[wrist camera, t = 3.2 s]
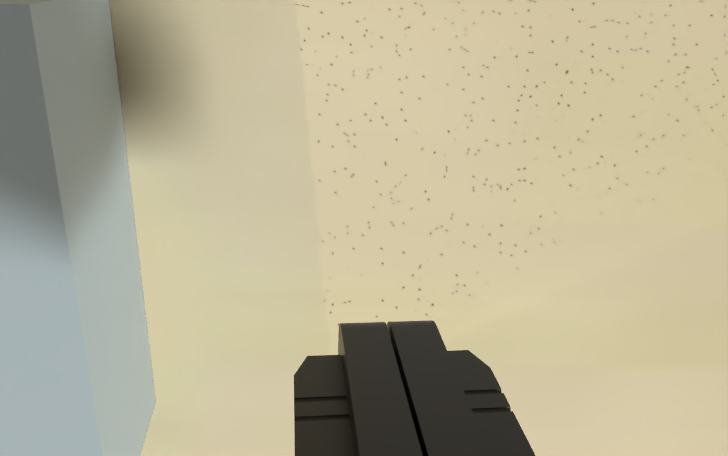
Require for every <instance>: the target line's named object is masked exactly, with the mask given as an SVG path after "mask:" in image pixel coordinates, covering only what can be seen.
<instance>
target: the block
mask: <svg viewBox="0 0 728 456" xmlns="http://www.w3.org/2000/svg"><path fill="white" fill-rule="evenodd" d="M155 403H156V397H155V388H154V380H153V371H152V363H151V354H150V346H149V337H148V329H147V320H146V312H145V303H144V295H143V286H142V278H141V269H140V261H139V252H138V244H137V235H136V227H135V218H134V210H133V201H132V193H131V184H130V176H129V167H128V159H127V150H126V142H125V133H124V125H123V116H122V108H121V99H120V91H119V82H118V74H117V65H116V57H115V48H114V40H113V31H112V23H111V14H110V6H109V0H0V456H140V454H141V451H142V447H143V444H144V440H145V437H146V433H147V430H148V427H149V423H150V420H151V416H152V413H153V409H154V406H155Z"/></svg>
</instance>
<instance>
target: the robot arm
mask: <svg viewBox="0 0 728 456" xmlns="http://www.w3.org/2000/svg"><path fill="white" fill-rule="evenodd" d="M294 415H295V456H535V454H534V452H533V450H532V448H531V446H530V444H529V442H528V440H527V438H526V436H525V435H524V433H523V431H522V429H521V427H520V425H519V423H518V421H517V419H516V417H515V415H514V413H513V411H512V412H511V410H510V405H509V403H508V401H507V399H506V397H505V395H504V394H503V393H501V388H500V386H499V384H498V382H497V380H496V378H495V376H494V374H493V372H492V370H491V368H490V367H489V366H487V365H486V364H485V363H484V362H482V361H481V360H480V359H479V358H477V357H476V356H475V355H474V354H472V353H471V352H470V351H468V350H462V351H447V350H446V347H445V345H444V343H443V340H442V338H441V335H440V333H439V331H438V328H437V326H436V324H435V322H434V321H403V322H388V323H387V325H386V323H385V322H375V323H342V324H339V342H338V355H325V356H307V358H306V359H305V360H304V362H303V363H302V365H301V366H300V368H299V369H298V371H297V372H296V373H295V375H294Z"/></svg>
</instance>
